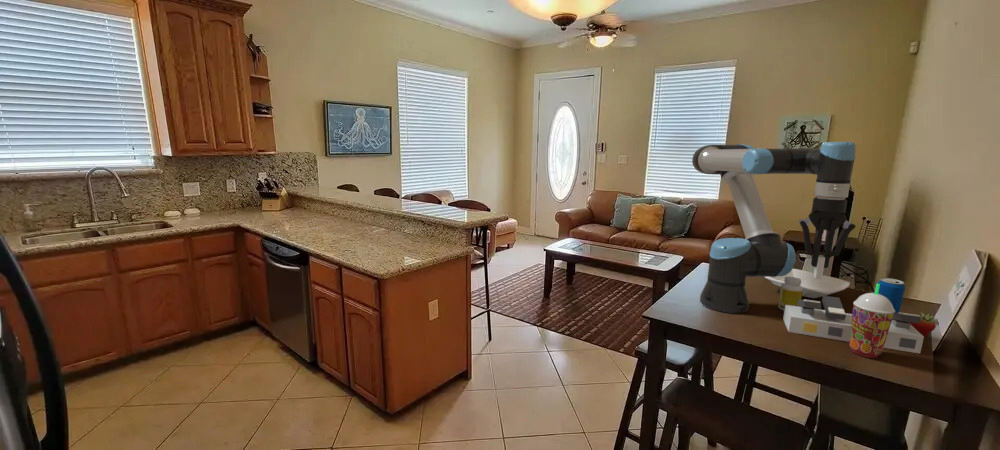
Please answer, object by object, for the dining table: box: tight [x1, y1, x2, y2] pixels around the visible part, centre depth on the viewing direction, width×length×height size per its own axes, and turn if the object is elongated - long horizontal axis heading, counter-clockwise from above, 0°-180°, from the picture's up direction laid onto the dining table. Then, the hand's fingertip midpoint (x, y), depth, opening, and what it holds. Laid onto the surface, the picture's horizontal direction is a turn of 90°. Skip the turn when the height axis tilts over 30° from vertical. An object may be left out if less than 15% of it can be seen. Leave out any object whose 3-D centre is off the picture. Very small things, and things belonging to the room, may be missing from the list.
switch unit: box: [782, 305, 925, 354], centre depth 123 cm, size 30×10×7 cm, turn 64°
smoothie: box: [848, 283, 895, 359], centre depth 111 cm, size 8×8×20 cm
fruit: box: [909, 310, 937, 339], centre depth 121 cm, size 5×5×8 cm
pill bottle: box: [777, 277, 803, 312], centre depth 141 cm, size 6×6×11 cm
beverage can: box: [877, 277, 906, 313], centre depth 136 cm, size 6×6×12 cm
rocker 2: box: [821, 295, 846, 320], centre depth 124 cm, size 4×8×2 cm, turn 154°
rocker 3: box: [892, 311, 921, 323], centre depth 117 cm, size 4×8×2 cm, turn 154°
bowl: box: [764, 268, 851, 299], centre depth 156 cm, size 22×23×6 cm
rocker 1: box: [798, 299, 822, 310], centre depth 126 cm, size 4×8×2 cm, turn 154°
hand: (817, 277), depth 121 cm, fingers closed
